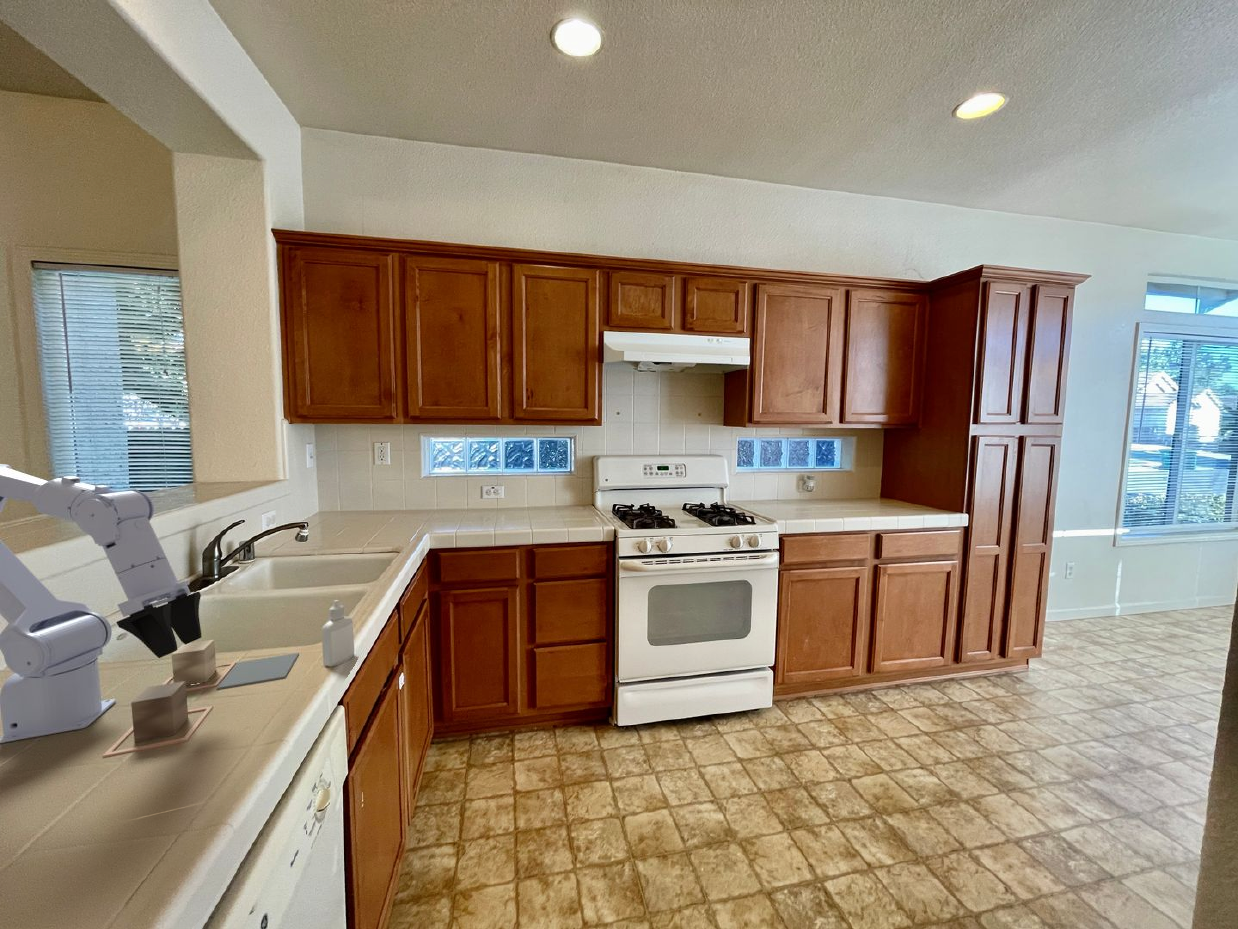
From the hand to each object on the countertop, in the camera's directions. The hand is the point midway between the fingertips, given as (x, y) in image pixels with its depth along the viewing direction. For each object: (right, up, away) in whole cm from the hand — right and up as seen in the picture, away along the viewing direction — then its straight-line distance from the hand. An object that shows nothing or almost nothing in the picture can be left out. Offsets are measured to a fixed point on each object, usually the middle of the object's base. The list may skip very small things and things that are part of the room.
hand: (181, 647), depth 73 cm
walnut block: (-2, -12, -1) cm, 12 cm away
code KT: (-2, -12, -1) cm, 12 cm away
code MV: (-10, -11, +14) cm, 20 cm away
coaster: (0, -11, +16) cm, 20 cm away
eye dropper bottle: (+12, -11, +20) cm, 26 cm away
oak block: (-10, -11, +14) cm, 20 cm away
